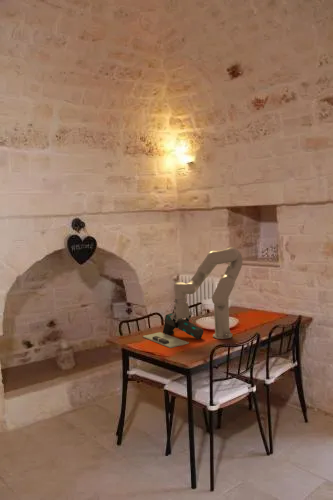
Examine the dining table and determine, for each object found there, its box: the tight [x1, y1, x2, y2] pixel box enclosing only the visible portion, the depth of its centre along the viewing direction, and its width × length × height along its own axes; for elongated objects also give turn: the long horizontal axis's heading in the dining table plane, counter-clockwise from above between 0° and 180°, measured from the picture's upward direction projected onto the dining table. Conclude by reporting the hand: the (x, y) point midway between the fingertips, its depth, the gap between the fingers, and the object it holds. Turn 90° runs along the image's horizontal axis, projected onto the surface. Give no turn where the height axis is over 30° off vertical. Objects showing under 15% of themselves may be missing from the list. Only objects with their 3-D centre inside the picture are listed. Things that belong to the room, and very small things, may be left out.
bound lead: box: [153, 336, 169, 344], centre depth 311 cm, size 15×4×2 cm, turn 33°
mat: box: [142, 331, 190, 349], centre depth 315 cm, size 34×14×1 cm, turn 33°
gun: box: [162, 312, 205, 340], centre depth 322 cm, size 6×29×15 cm, turn 50°
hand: (181, 326), depth 322 cm, fingers open, 8 cm apart
